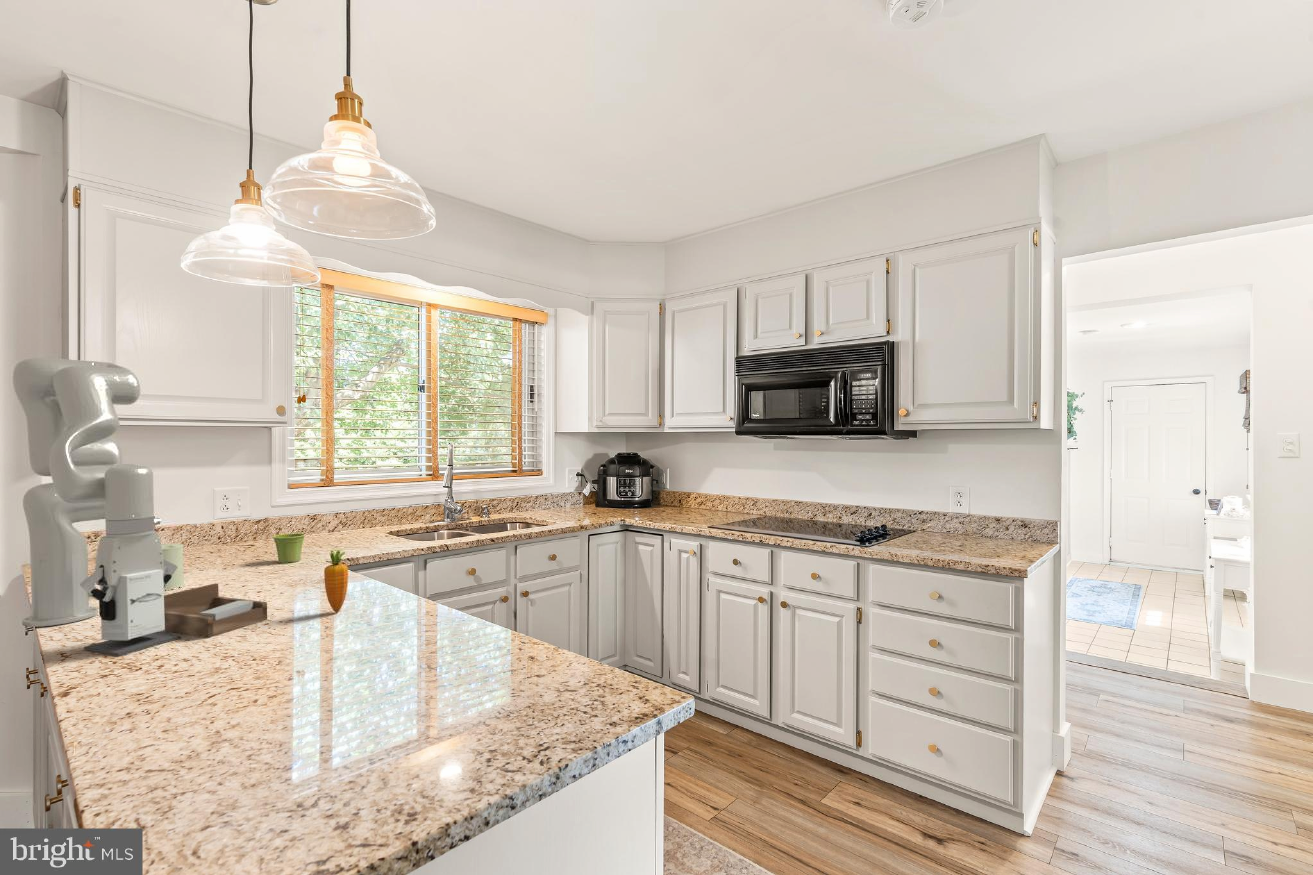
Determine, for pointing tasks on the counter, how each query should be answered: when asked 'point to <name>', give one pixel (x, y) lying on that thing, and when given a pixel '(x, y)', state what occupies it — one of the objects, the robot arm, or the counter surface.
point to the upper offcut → (228, 609)
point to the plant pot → (289, 547)
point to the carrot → (336, 581)
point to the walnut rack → (189, 603)
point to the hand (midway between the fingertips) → (132, 613)
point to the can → (174, 556)
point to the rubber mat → (131, 644)
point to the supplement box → (136, 607)
